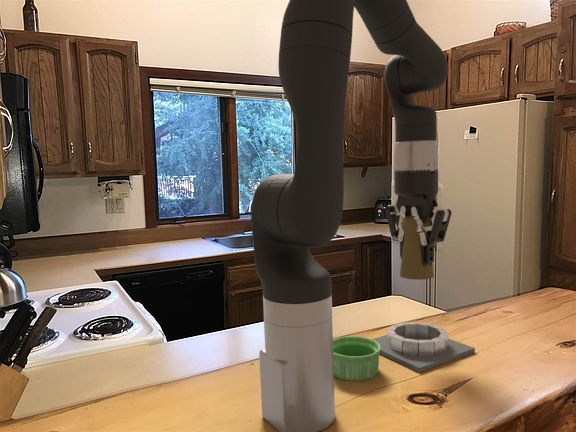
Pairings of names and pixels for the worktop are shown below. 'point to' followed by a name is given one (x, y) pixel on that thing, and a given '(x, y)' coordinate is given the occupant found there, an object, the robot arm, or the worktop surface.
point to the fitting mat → (427, 362)
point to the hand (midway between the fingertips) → (416, 263)
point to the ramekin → (355, 358)
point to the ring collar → (417, 347)
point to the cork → (413, 252)
